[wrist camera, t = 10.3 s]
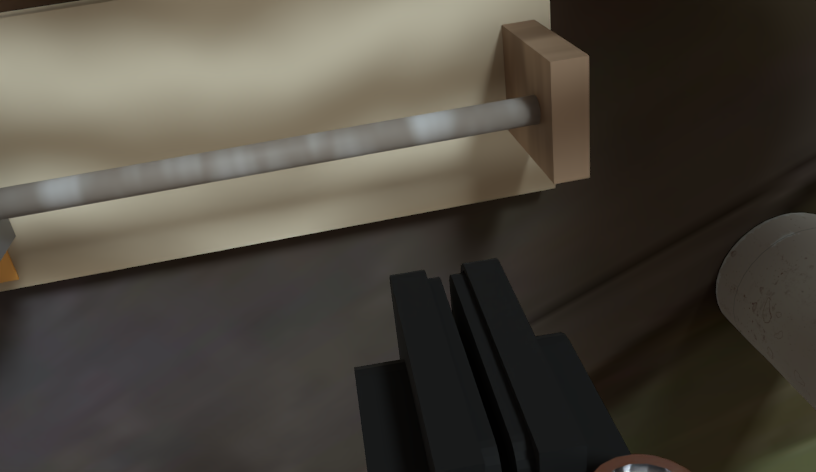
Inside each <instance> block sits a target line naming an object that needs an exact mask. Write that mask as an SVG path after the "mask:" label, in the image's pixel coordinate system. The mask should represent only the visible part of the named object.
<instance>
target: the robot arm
mask: <svg viewBox="0 0 816 472" xmlns="http://www.w3.org/2000/svg"><path fill="white" fill-rule="evenodd" d="M449 281H450V294H451V306H452V311H451V308H450V305H449V302H448V300H447V297H446V294H445V291H444V288H443V285H442V282H441V279H440V277H435V278H429V279H427V276H426V273H425V270H420V271H414V272H408V273H401V274H395V275H390V286H391V294H392V301H393V309H394V317H395V324H396V332H397V339H398V347H399V355H400V360H395V361H389V362H384V363H378V364H372V365H366V366H360V367H354V370H355V378H356V386H357V394H358V401H359V409H360V417H361V425H362V432H363V440H364V448H365V455H366V463H367V471H368V472H690V471H689V470H688V469H686V468H684V467H682V466H680V465H679V464H677V463H675V462H673V461H671V460H667V459H664V458H660V457H657V456H653V455H641V454H631V453H630V451H629V450H628V448H627V446H626V444H625V442H624V440H623V439H622V437H621V435H620V433H619V431H618V429H617V427H616V426H615V424H614V422H613V420H612V418H611V416H610V415H609V413H608V411H607V409H606V407H605V405H604V403H603V402H602V400H601V398H600V396H599V394H598V392H597V391H596V389H595V387H594V385H593V383H592V381H591V379H590V378H589V376H588V374H587V372H586V370H585V368H584V367H583V365H582V363H581V361H580V359H579V357H578V356H577V354H576V352H575V350H574V348H573V346H572V344H571V343H570V341H569V339H568V338H567V336H566V335H565V334H564V333H562V332H559V333H554V334H548V335H542V336H536V337H535V335H534V333H533V331H532V329H531V327H530V325H529V322H528V320H527V318H526V316H525V314H524V312H523V310H522V308H521V306H520V304H519V302H518V300H517V298H516V295H515V293H514V291H513V289H512V287H511V285H510V283H509V281H508V279H507V277H506V275H505V273H504V270H503V268H502V266H501V264H500V262H499V261H498V259H496V258H494V259H488V260H482V261H475V262H469V263H463V264H462V265H461V273H459V274H453V275H450V278H449Z"/></svg>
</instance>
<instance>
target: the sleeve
mask: <svg viewBox="0 0 816 472" xmlns="http://www.w3.org/2000/svg"><path fill="white" fill-rule="evenodd" d="M15 237H16V235H15V233H14V230H13V228H12V226H11V223H10V221H9V219H4V220H0V261H1V259H2V258H3V256H4V254H5V253H6V251H7V250H8V248H9V246H10V245H11V243H12V242H13V240H14V238H15Z"/></svg>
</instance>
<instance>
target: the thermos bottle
mask: <svg viewBox="0 0 816 472" xmlns="http://www.w3.org/2000/svg"><path fill="white" fill-rule="evenodd" d="M716 297H717V302H718V305H719V307H720V309H721V312H722V313H723V314H724V315H725V317H726V318H727V319H728V320H729V321H730V322H731V323H732V324H733V325H734V326H735V328H736V329H737V330H738V331H739V332H740V333H741V334H742V335H743V336H744V337H745V338H746V339H747V340H748V341H749V342H750V343H751V344H752V345H753V346H754V347H755V348H756V349H757V350H758V351H759V352H760V353H761V354H762V355H763V356H764V357H765V358H766V359H767V360H768V361H769V362H770V363H771V364H772V365H773V366H774V367H775V368H776V369H777V370H778V371H779V372H780V374H781V375H782V376H783V377H784V378H785V379H786V380H787V381H788V382H789V383H790V384H791V385H792V386H793V387H794V388H795V389H796V390H797V391H798V392H799V393H800V394H801V395H802V396H803V397H804V398H805V399H806V400H807V401H808V402H809V403H810V404H811V405H812V406H813V407H814V409H815V410H816V215H815V214H809V213H789V214H784V215H780V216H777V217H774V218H772V219H769V220H767V221H765V222H763V223H761V224H759V225H758V226H756V227H754V228H753V229H752V230H750V231H749V232H748V233H747V234H745V235H744V236H743V237H742V238H741V239H740V240H739V241H738V242H737V243H736V244H735V245H734V246H733V247H732V249H731V250H730V252H729V253H728V255H727V256H726V258H725V259H724V261H723V264H722V266H721V268H720V270H719V274H718V277H717V281H716Z"/></svg>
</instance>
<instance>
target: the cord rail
mask: <svg viewBox="0 0 816 472" xmlns="http://www.w3.org/2000/svg"><path fill="white" fill-rule="evenodd" d="M585 178H590V115H589V55H588V54H586V53H585V52H583V51H582V50H580V49H579V48H577V47H575V46H574V45H572V44H571V43H569V42H568V41H566V40H565V39H563V38H562V37H560V36H559V35H557V34H556V33H554V32H553V31H551V22H550V0H79V1H73V2H66V3H60V4H53V5H47V6H40V7H34V8H27V9H21V10H14V11H8V12H1V13H0V220H4V219H9V221H10V223H11V226H12V228H13V230H14V233H15V235H16V237H15V238H14V240H13V242H12V243H11V245H10V246H9V248H8V250H7V251H6V253H5V254H4V256H3V258H2V259H1V261H0V292H1V291H7V290H12V289H17V288H23V287H28V286H34V285H39V284H44V283H50V282H55V281H60V280H66V279H71V278H76V277H82V276H87V275H92V274H98V273H103V272H108V271H114V270H119V269H125V268H130V267H135V266H141V265H146V264H151V263H157V262H162V261H167V260H173V259H178V258H183V257H189V256H194V255H200V254H205V253H210V252H216V251H221V250H226V249H232V248H237V247H242V246H248V245H253V244H258V243H264V242H269V241H275V240H280V239H285V238H291V237H296V236H301V235H307V234H312V233H317V232H323V231H328V230H333V229H339V228H344V227H349V226H355V225H360V224H366V223H371V222H376V221H382V220H387V219H392V218H398V217H403V216H408V215H414V214H419V213H424V212H430V211H435V210H441V209H446V208H451V207H457V206H462V205H467V204H473V203H478V202H483V201H489V200H494V199H499V198H505V197H510V196H516V195H521V194H526V193H532V192H537V191H542V190H548V189H553V188H555V184H558V183H564V182H569V181H574V180H580V179H585Z"/></svg>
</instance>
